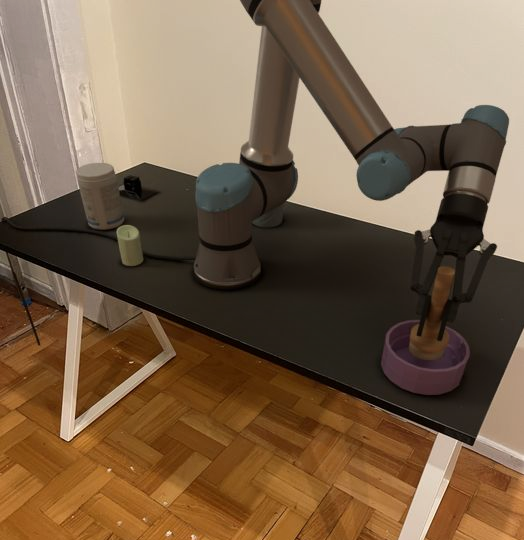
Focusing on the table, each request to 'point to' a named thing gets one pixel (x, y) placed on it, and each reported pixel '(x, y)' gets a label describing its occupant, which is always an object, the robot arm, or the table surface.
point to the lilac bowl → (423, 362)
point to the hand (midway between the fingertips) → (429, 337)
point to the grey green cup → (270, 218)
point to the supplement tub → (100, 195)
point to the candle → (129, 245)
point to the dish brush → (433, 320)
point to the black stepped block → (134, 189)
